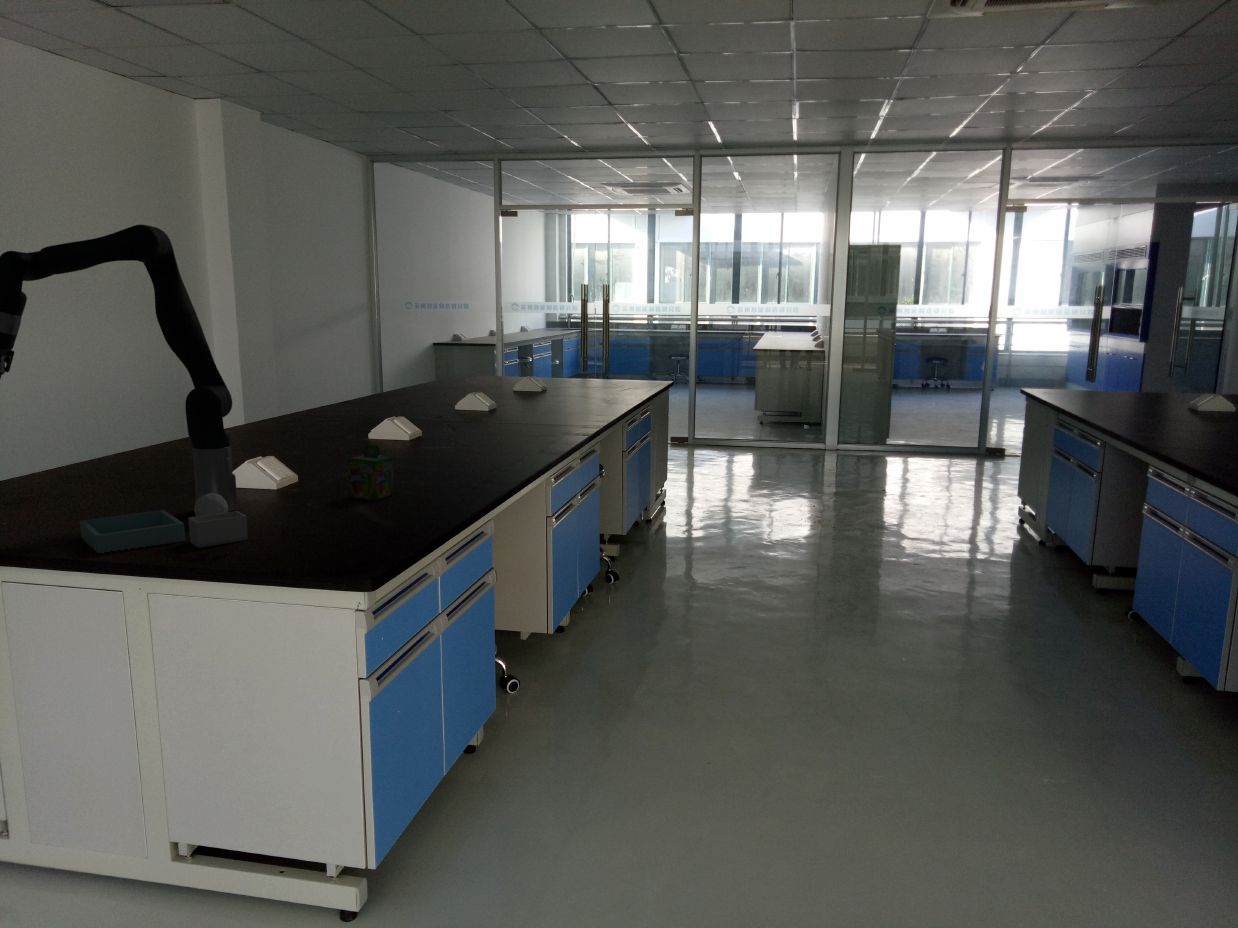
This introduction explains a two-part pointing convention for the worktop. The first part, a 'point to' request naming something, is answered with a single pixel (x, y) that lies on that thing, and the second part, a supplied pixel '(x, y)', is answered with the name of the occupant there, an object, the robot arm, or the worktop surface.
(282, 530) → the worktop surface
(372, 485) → the chalk box
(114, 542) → the teal crate
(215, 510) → the geometric ball
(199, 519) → the grey crate
